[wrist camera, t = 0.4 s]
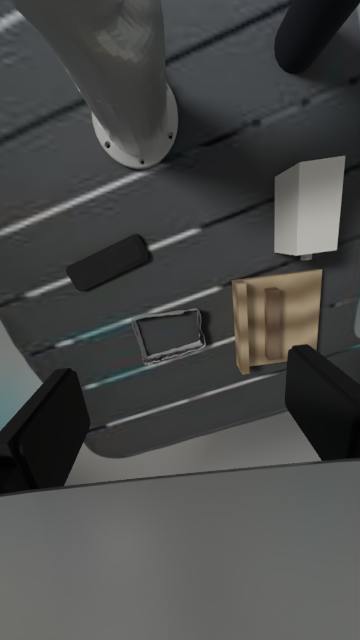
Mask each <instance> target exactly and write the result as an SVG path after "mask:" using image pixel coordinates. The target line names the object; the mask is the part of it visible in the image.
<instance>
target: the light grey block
mask: <svg viewBox="0 0 360 640" xmlns="http://www.w3.org/2000/svg"><path fill="white" fill-rule="evenodd" d="M344 166H345V156H339V157H333V158H326V159H319V160H312V161H305V162H299V163H298V164H296V165H294V166H293V167H291V168H289V169H288V170H286V171H284V172H283V173H281V174H279V175H278V176H276V177H275V253H282V254H288V255H295V256H298V255H301V260H311V259H312V253H319V252H327V251H334V250H337V243H338V232H339V221H340V210H341V199H342V188H343V177H344Z"/></svg>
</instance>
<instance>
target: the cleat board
mask: <svg viewBox="0 0 360 640" xmlns="http://www.w3.org/2000/svg"><path fill="white" fill-rule="evenodd" d="M321 281H322V270H321V269H312V270H304V271H297V272H290V273H282V274H275V275H268V276H261V277H253V278H246V279H239V280H232V290H233V307H234V325H235V342H236V360H237V366H238V367H239V369H240V371H241V373H242V374H249V373H250V370H249V366H256V365H264V364H271V363H279V362H286V361H287V358H288V350H289V349H292V346H293V345H303V344H308V345H310V346H311V347H312V348H313V349H315V350H317V336H318V322H319V309H320V295H321Z"/></svg>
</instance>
